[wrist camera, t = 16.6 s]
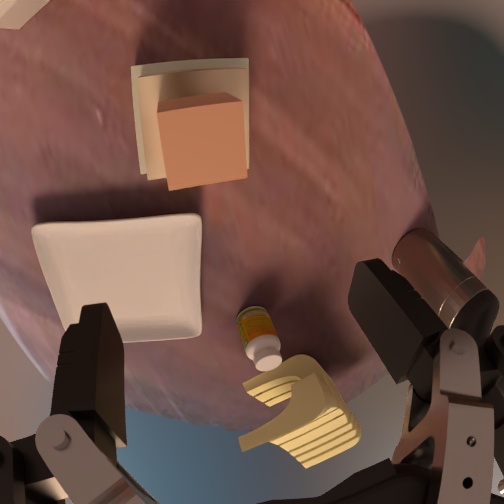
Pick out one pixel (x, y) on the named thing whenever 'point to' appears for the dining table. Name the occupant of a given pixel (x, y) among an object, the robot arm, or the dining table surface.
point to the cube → (202, 139)
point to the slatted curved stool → (303, 412)
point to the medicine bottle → (18, 12)
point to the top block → (181, 86)
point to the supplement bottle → (259, 338)
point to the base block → (170, 67)
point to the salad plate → (127, 272)
